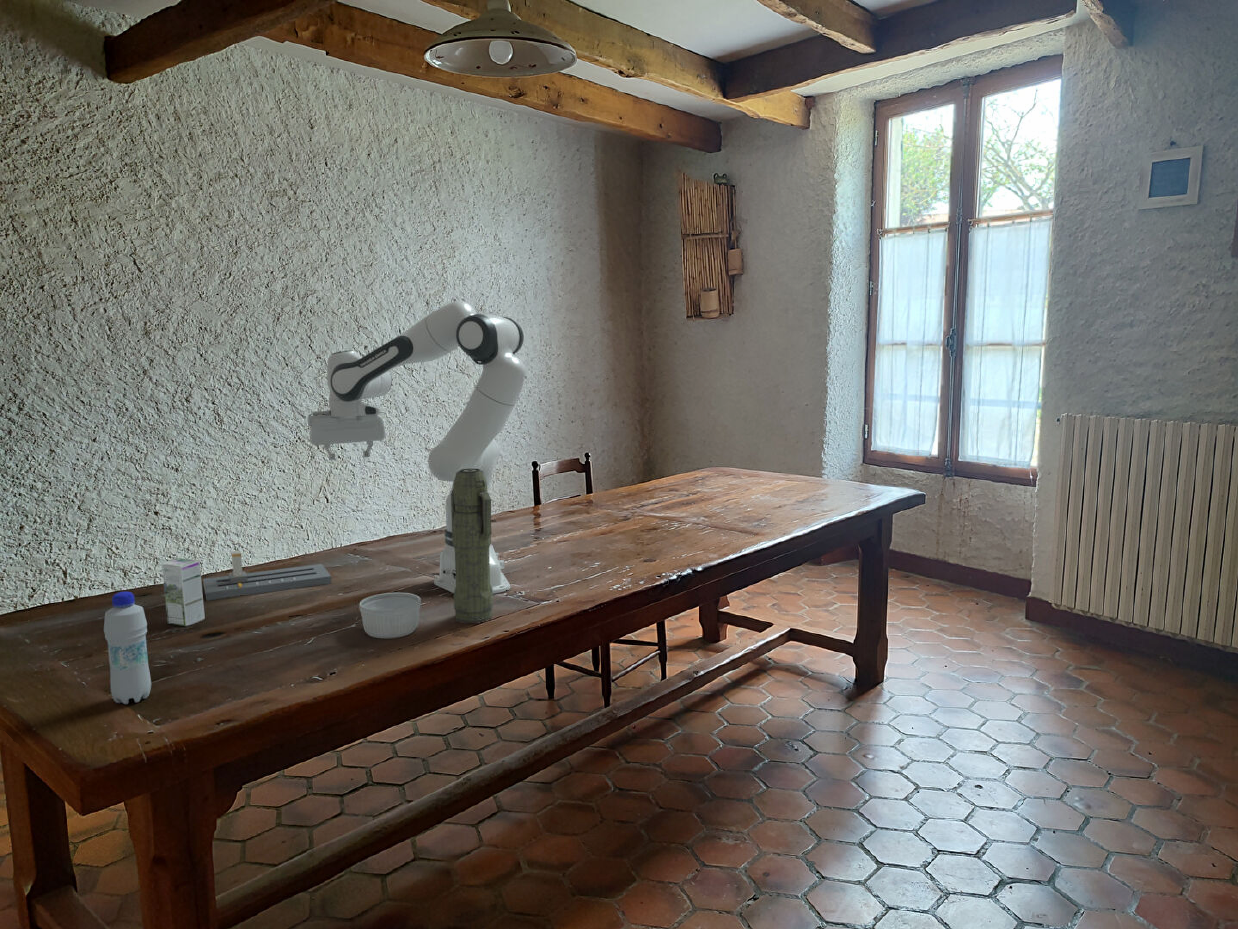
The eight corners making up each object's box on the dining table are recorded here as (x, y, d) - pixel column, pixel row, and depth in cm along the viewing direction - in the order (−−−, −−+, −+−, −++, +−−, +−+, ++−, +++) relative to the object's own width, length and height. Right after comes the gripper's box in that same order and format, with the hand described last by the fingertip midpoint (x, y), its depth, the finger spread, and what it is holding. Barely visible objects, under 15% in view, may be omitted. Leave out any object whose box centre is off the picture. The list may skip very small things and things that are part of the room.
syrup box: (206, 619, 193) (201, 558, 190) (185, 627, 187) (180, 565, 185) (186, 616, 194) (182, 556, 192) (165, 624, 189) (160, 562, 187)
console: (331, 583, 221) (331, 575, 220) (206, 600, 206) (205, 591, 206) (322, 570, 233) (321, 562, 232) (203, 586, 218) (202, 577, 218)
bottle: (122, 692, 153) (112, 587, 150) (160, 690, 153) (151, 586, 150) (103, 707, 146) (92, 598, 143) (142, 706, 147) (132, 597, 144)
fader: (247, 581, 214) (245, 553, 213) (230, 583, 213) (228, 555, 211) (245, 576, 219) (243, 549, 218) (229, 578, 217) (226, 551, 216)
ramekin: (398, 617, 194) (397, 588, 193) (434, 629, 186) (433, 599, 185) (348, 632, 184) (347, 602, 183) (384, 646, 176) (382, 614, 175)
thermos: (481, 627, 187) (477, 474, 181) (442, 618, 193) (437, 470, 187) (506, 616, 194) (502, 469, 189) (467, 608, 200) (463, 465, 195)
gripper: (309, 412, 222) (312, 463, 224) (385, 408, 233) (388, 456, 235) (305, 411, 228) (308, 460, 230) (379, 407, 238) (382, 454, 240)
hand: (349, 458), depth 232 cm, fingers open, 8 cm apart
